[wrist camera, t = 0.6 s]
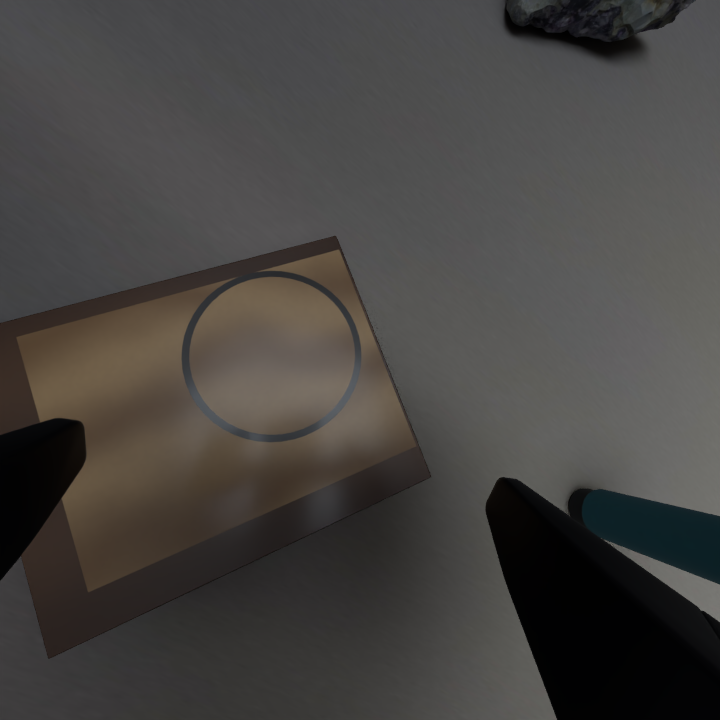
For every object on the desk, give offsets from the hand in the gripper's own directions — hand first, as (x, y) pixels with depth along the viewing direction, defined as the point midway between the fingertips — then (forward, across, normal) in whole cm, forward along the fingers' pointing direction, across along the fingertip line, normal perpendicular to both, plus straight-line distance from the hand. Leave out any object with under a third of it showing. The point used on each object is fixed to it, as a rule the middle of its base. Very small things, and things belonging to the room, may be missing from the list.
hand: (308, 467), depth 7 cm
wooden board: (+11, +5, +6) cm, 13 cm away
